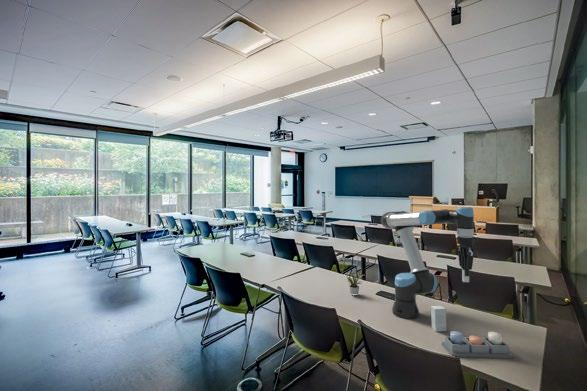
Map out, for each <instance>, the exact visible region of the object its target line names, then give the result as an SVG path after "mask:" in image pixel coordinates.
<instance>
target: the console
mask: <svg viewBox="0 0 587 391" xmlns="http://www.w3.org/2000/svg"><path fill="white" fill-rule="evenodd" d="M481 338H482V340H483V345H472V344H471V343H470V342H469V336H463V344H455V343H453V342H451V341H450V336H444V341H441V346H442V347H443V348H444V349H445V350H446V351H447V352H448V354H449V355H450V356H451V355H452V356H458V358H459V357H462V358H492V359H493V358H496V359H497V358H499V359H501V358H502V359H505V358H506V359H513V358H514V355H513V354H512V353H511V352H510V346H509V345H508V344H507V343H506V342H504V340H502V345H495V344H492V343H490V342H489V341H488V336H486V337H485V336H484V337H481ZM452 356H451V357H452Z"/></svg>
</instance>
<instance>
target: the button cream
mask: <svg viewBox="0 0 587 391" xmlns="http://www.w3.org/2000/svg"><path fill="white" fill-rule="evenodd" d="M487 337H488V341H489V342H490V343H492V344H495V345H502V341H503V335H502V334H501V333H499V332H496V331H488V333H487Z"/></svg>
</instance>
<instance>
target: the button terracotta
mask: <svg viewBox="0 0 587 391" xmlns="http://www.w3.org/2000/svg"><path fill="white" fill-rule="evenodd" d="M468 337H469V342H470V343H471V344H472V345H483V340H482V337H480V336H477V335H469V336H468Z"/></svg>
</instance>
